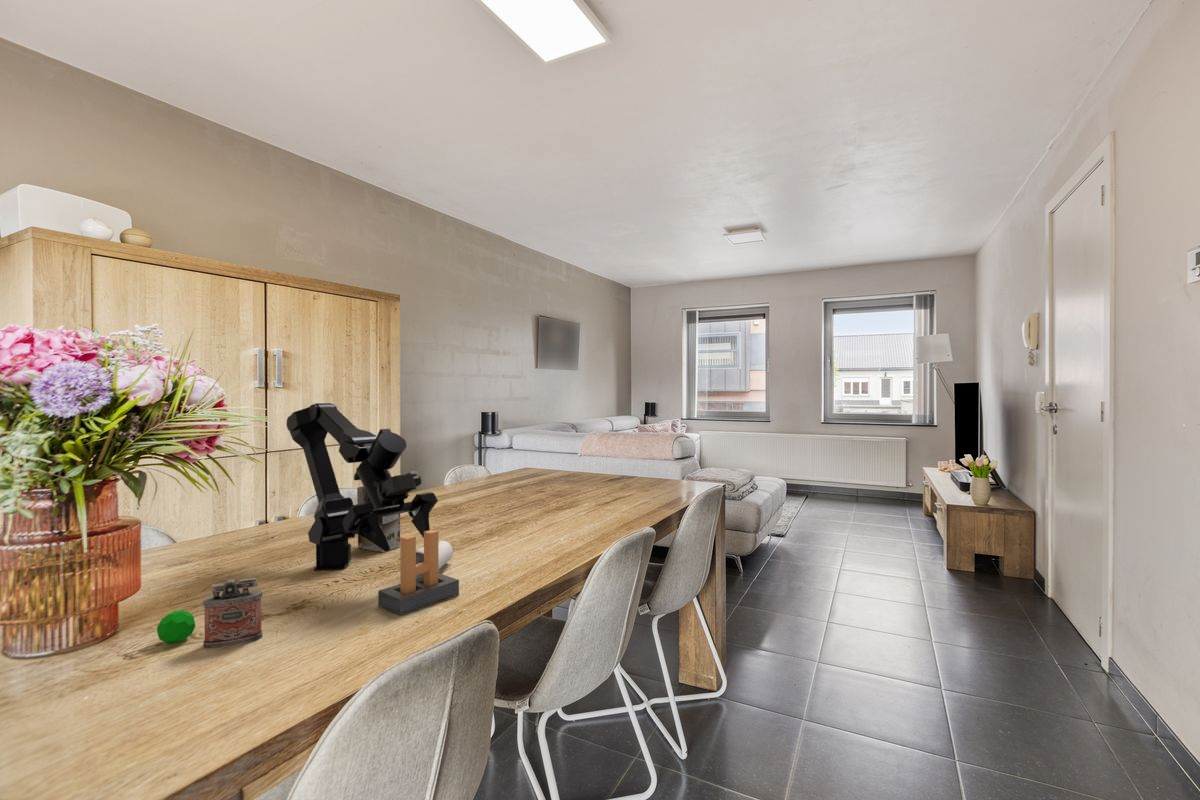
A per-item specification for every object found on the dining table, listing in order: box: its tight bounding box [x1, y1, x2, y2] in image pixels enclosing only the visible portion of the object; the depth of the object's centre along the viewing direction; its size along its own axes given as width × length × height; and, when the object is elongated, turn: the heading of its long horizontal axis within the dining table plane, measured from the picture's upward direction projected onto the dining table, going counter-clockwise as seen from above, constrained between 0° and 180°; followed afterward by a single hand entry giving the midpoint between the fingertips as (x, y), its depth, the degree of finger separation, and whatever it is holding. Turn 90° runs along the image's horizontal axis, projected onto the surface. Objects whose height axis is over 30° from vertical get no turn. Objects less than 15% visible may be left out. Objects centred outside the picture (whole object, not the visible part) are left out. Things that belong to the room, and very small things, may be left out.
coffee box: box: [356, 485, 401, 553], centre depth 143 cm, size 9×6×16 cm
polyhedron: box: [156, 610, 196, 645], centre depth 89 cm, size 5×5×5 cm
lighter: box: [202, 577, 264, 650], centre depth 89 cm, size 8×3×10 cm, turn 117°
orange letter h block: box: [399, 529, 440, 594], centre depth 107 cm, size 7×2×13 cm, turn 143°
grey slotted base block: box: [377, 572, 460, 617], centre depth 107 cm, size 13×7×3 cm, turn 143°
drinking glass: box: [416, 540, 454, 579], centre depth 123 cm, size 7×7×15 cm
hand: (409, 545), depth 109 cm, fingers open, 9 cm apart
